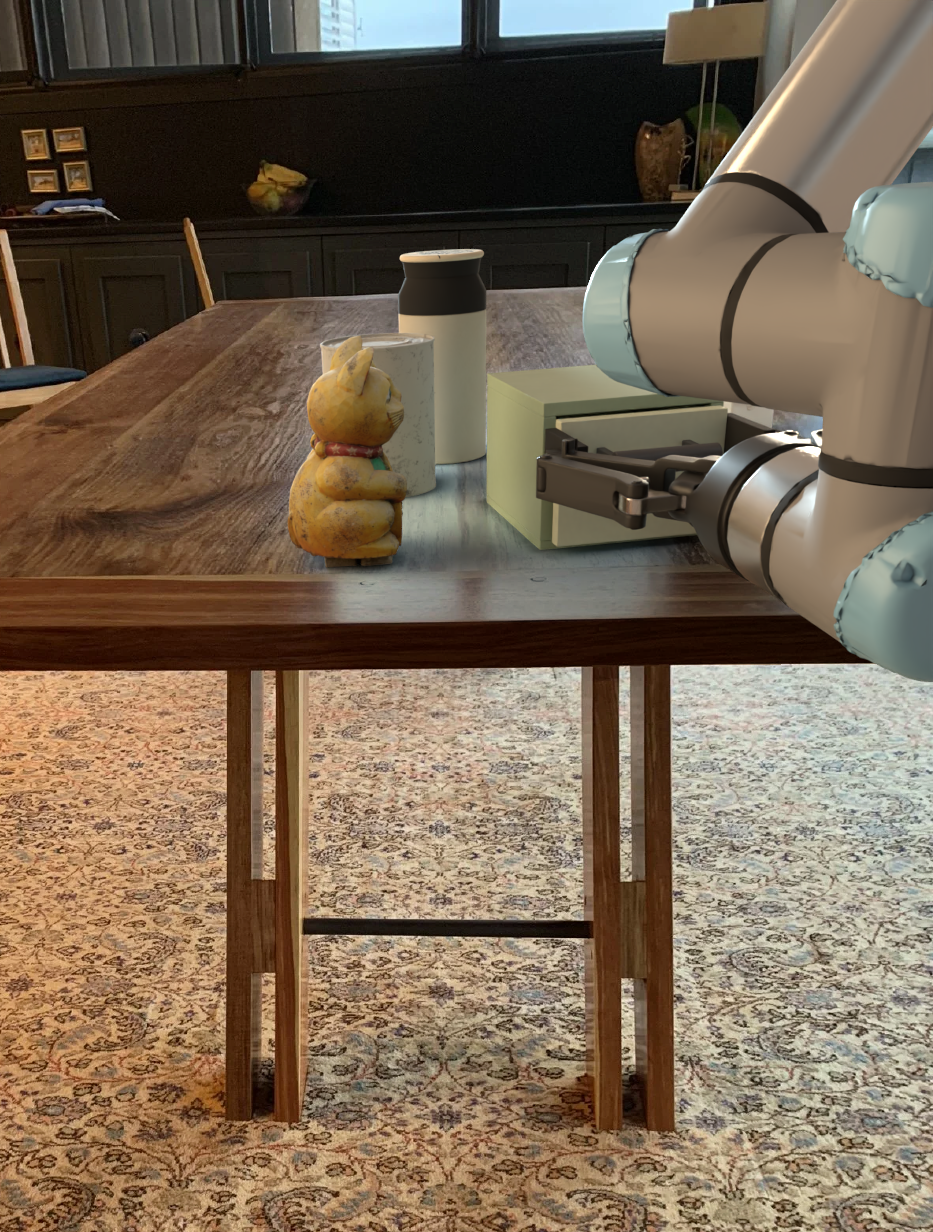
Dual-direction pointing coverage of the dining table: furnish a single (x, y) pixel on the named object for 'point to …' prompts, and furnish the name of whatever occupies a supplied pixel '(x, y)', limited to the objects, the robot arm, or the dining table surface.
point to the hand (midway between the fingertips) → (637, 441)
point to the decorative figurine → (350, 465)
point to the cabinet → (519, 434)
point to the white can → (405, 401)
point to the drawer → (638, 439)
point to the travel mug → (451, 344)
